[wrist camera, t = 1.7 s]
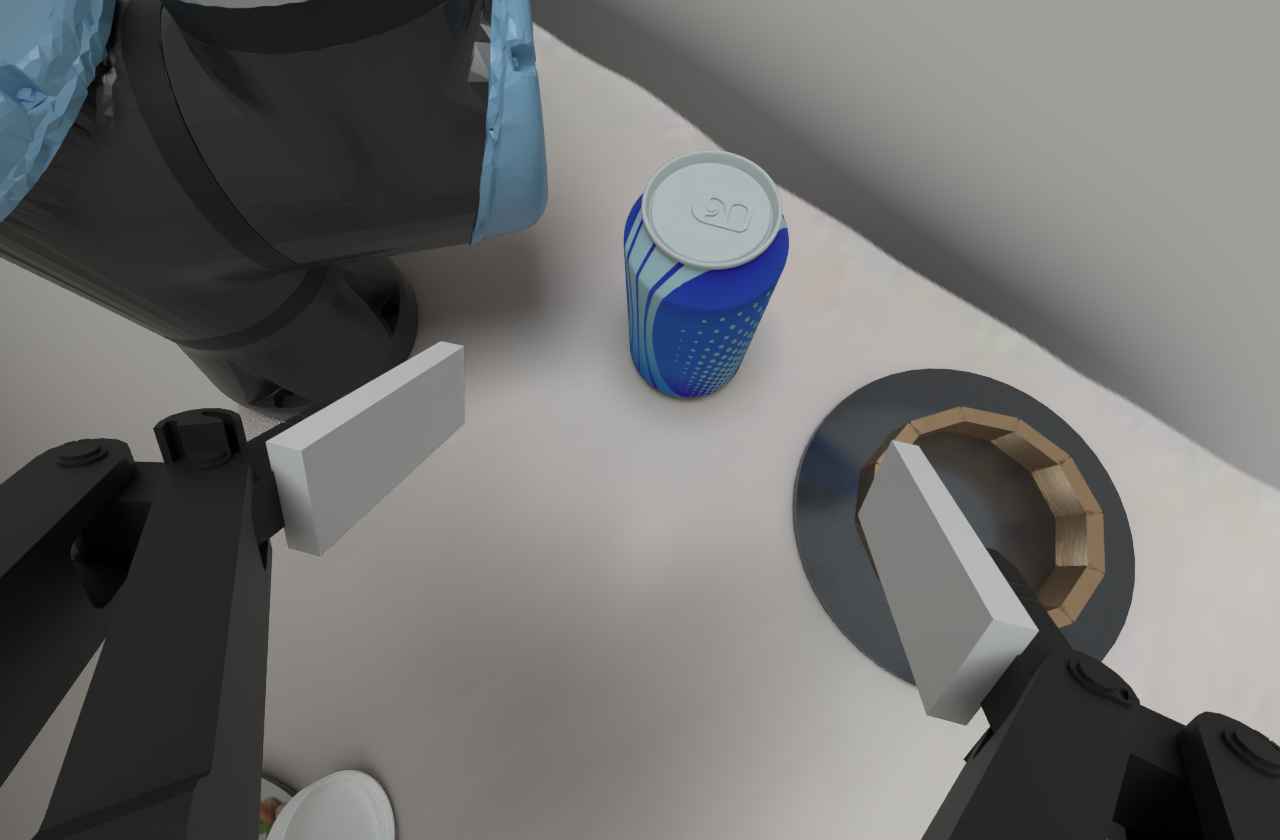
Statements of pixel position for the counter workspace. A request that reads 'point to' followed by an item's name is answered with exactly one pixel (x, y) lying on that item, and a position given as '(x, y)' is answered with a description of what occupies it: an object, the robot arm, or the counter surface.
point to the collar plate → (967, 504)
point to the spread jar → (327, 809)
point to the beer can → (701, 269)
